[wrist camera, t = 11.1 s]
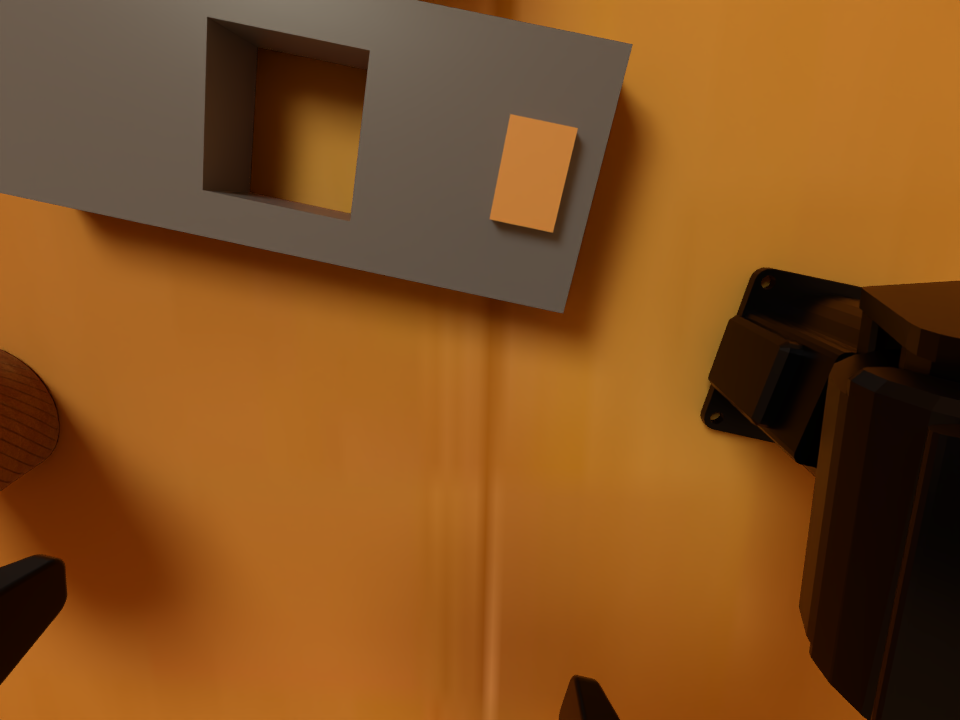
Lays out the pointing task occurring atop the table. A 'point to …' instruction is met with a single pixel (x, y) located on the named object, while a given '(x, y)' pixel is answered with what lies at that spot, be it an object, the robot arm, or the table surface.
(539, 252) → the grey flat block
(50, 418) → the disposable coffee cup
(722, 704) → the table surface
